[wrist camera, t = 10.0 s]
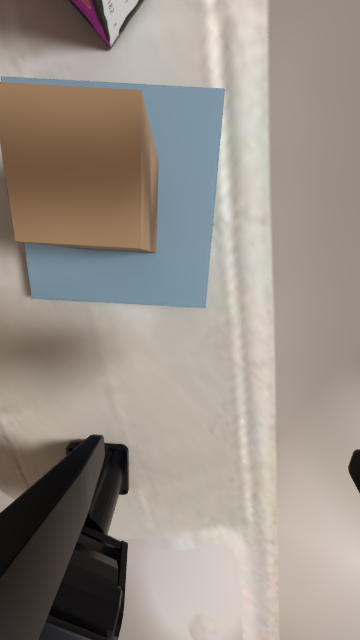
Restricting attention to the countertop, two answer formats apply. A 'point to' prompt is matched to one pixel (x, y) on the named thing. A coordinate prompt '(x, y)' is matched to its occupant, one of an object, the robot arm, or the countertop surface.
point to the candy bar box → (108, 16)
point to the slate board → (172, 215)
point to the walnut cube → (79, 167)
